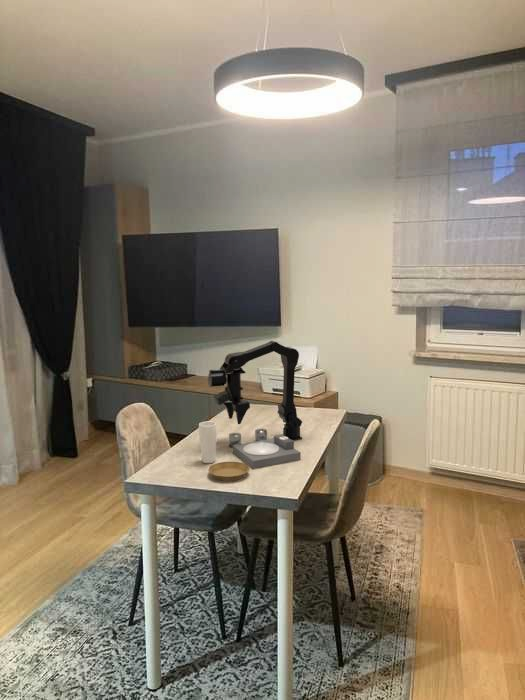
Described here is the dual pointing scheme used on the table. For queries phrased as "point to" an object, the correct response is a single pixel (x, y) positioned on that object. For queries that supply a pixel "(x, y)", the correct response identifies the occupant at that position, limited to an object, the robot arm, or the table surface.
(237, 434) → the cylinder
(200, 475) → the table surface
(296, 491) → the table surface
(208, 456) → the drinking glass
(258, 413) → the table surface
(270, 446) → the kitchen scale
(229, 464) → the plant saucer
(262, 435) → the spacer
